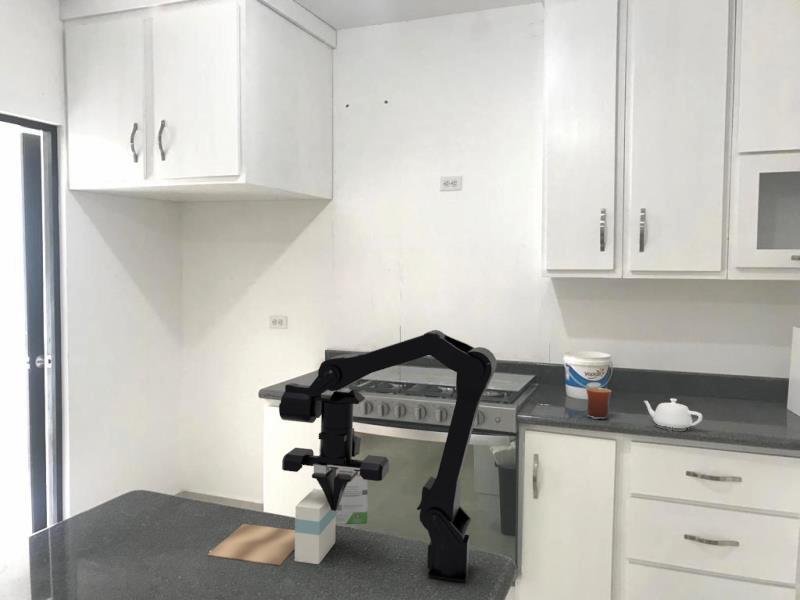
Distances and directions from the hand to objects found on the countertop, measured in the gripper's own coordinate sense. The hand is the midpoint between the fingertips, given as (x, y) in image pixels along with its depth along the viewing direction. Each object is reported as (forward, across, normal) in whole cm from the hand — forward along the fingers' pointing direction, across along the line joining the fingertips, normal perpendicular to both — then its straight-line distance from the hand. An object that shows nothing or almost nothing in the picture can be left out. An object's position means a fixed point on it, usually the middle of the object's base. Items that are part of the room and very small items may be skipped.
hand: (334, 509), depth 114 cm
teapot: (+8, -80, -121) cm, 145 cm away
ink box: (+8, +2, -15) cm, 17 cm away
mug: (+8, -56, -129) cm, 141 cm away
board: (+8, +14, 0) cm, 17 cm away
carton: (+8, +3, 0) cm, 9 cm away
